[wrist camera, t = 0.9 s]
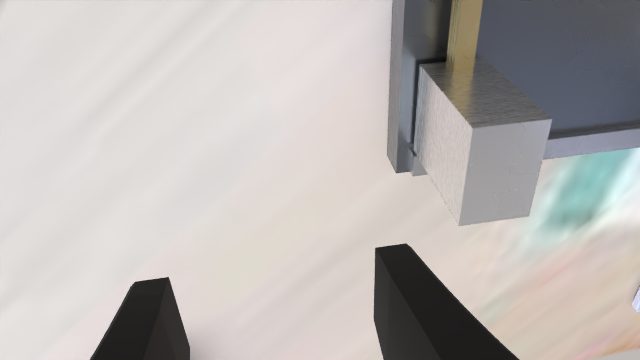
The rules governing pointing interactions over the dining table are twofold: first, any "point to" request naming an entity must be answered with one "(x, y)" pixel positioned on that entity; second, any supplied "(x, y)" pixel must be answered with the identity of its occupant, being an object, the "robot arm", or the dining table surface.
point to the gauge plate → (530, 68)
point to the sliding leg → (477, 130)
